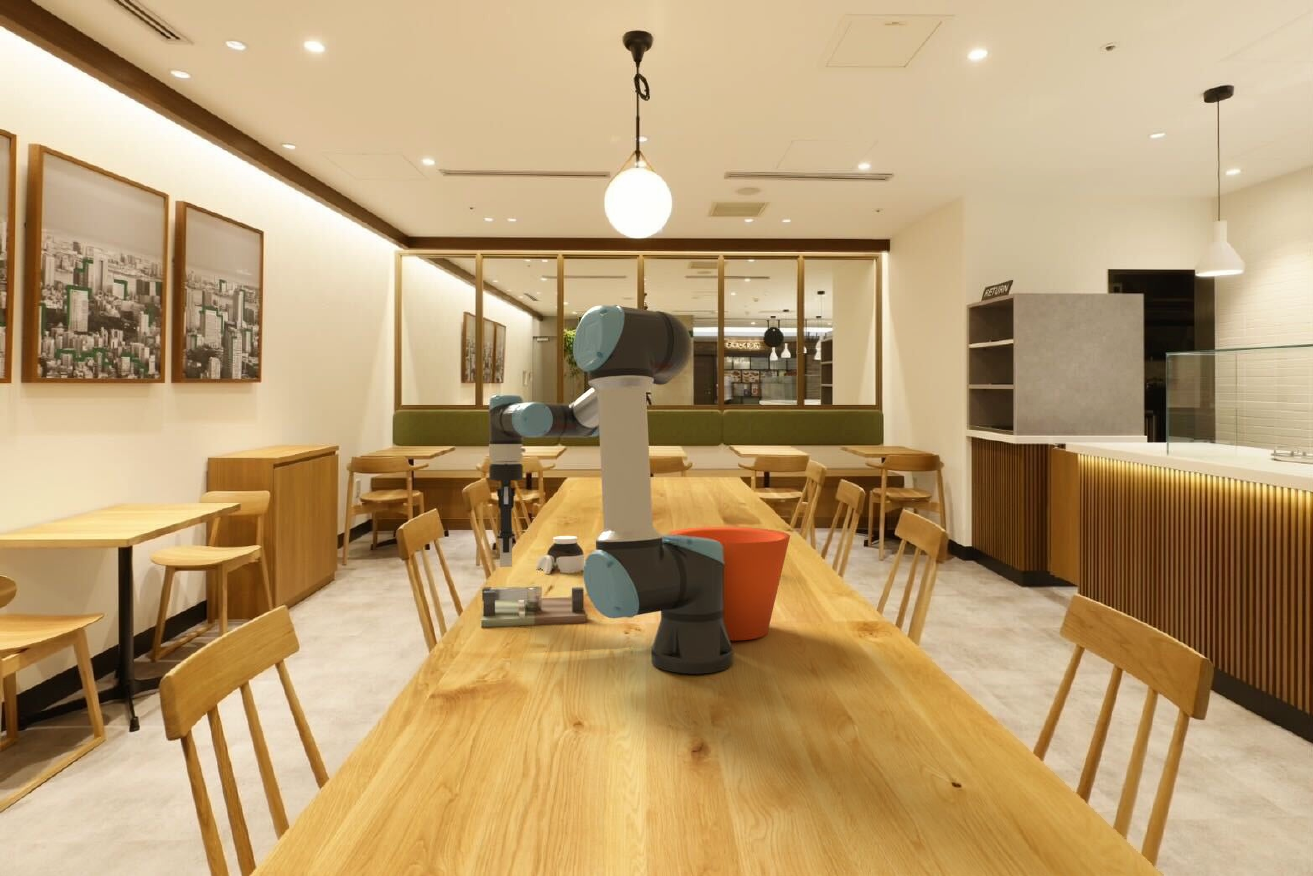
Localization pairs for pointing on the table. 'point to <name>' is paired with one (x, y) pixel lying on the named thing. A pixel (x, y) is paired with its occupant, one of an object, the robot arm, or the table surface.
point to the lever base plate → (517, 615)
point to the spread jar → (563, 556)
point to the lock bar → (519, 595)
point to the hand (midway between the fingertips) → (506, 566)
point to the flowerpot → (747, 575)
